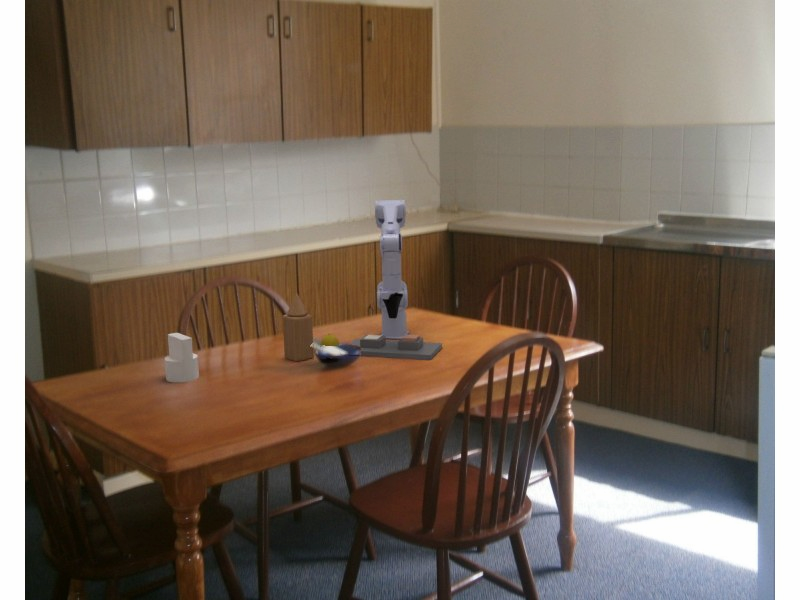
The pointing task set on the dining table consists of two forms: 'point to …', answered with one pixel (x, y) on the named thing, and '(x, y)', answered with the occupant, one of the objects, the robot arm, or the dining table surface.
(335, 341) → the lemon
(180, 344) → the cylinder with rectangular tab
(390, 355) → the grey key base
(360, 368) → the dining table surface
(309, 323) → the decorative item
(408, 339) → the terracotta key
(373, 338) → the white key
